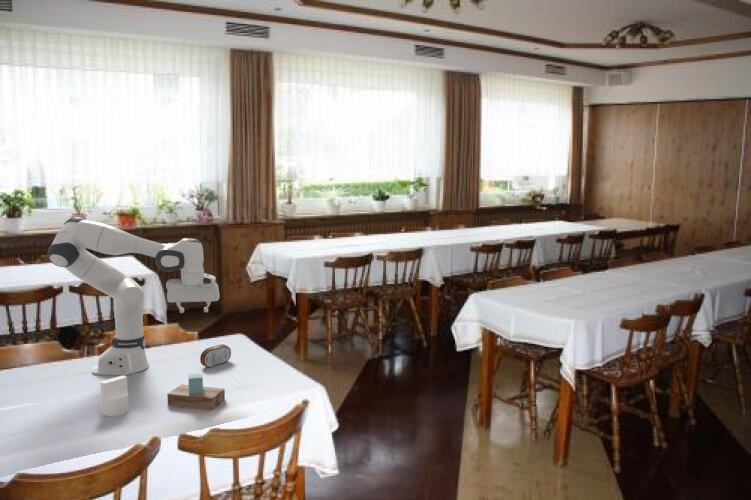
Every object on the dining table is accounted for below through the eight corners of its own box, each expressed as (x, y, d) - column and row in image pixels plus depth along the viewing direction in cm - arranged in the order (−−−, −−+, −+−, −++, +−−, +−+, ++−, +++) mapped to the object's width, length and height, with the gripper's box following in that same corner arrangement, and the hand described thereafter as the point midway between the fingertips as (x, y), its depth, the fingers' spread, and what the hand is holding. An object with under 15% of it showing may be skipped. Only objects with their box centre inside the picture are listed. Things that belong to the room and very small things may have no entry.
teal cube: (188, 394, 232) (188, 378, 231) (189, 389, 237) (188, 374, 236) (202, 393, 233) (202, 377, 232) (202, 388, 238) (202, 373, 237)
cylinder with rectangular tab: (120, 404, 234) (119, 373, 232) (133, 410, 228) (131, 378, 226) (97, 411, 227) (95, 379, 225) (109, 418, 221) (107, 385, 220)
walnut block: (212, 411, 229) (211, 398, 228) (167, 406, 233) (167, 393, 232) (224, 401, 239) (224, 388, 238) (181, 396, 243) (181, 384, 242)
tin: (228, 360, 285) (227, 342, 284) (232, 361, 283) (232, 343, 282) (199, 368, 273) (199, 349, 272) (204, 370, 271) (203, 351, 270)
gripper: (164, 280, 246) (165, 315, 249) (217, 279, 249) (218, 313, 252) (167, 277, 253) (168, 311, 255) (219, 276, 256) (220, 309, 258)
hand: (194, 312), depth 253 cm, fingers open, 8 cm apart
